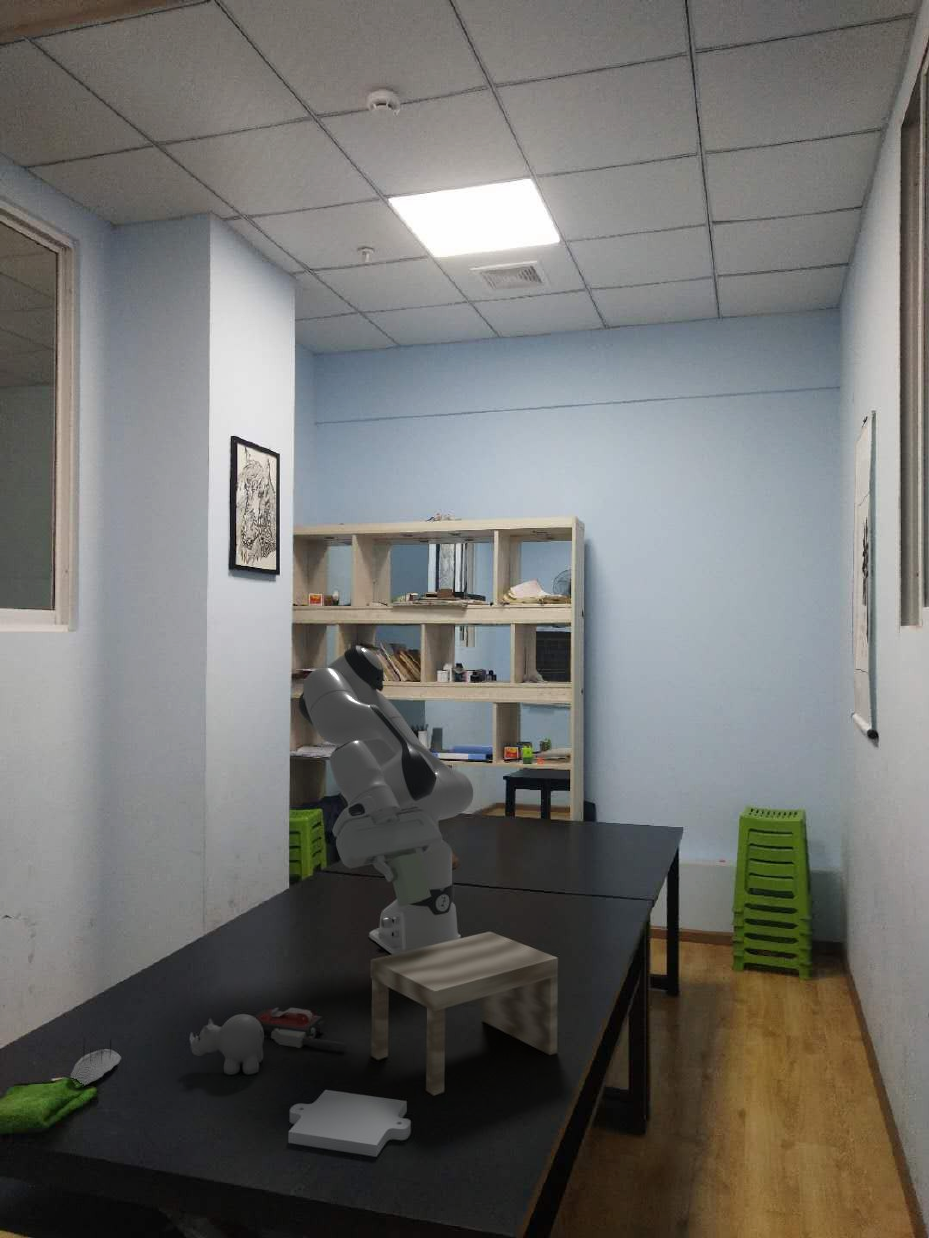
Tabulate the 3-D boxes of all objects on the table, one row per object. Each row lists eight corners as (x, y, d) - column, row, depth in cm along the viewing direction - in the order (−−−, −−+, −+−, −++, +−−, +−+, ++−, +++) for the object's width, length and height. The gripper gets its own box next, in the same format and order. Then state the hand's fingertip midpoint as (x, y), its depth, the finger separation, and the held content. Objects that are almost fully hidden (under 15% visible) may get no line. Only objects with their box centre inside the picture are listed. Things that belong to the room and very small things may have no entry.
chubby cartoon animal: (196, 1057, 162) (197, 1005, 163) (268, 1059, 162) (269, 1007, 162) (182, 1077, 155) (183, 1023, 155) (258, 1079, 155) (258, 1024, 155)
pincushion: (95, 1093, 150) (96, 1056, 150) (58, 1090, 151) (58, 1053, 151) (131, 1059, 162) (131, 1025, 162) (96, 1057, 163) (97, 1022, 163)
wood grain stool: (369, 1055, 164) (370, 959, 164) (489, 1018, 180) (489, 931, 180) (433, 1096, 150) (434, 991, 150) (556, 1052, 166) (557, 957, 166)
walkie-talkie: (236, 1041, 170) (343, 1056, 164) (237, 1015, 170) (343, 1030, 164) (260, 1022, 178) (363, 1036, 173) (261, 998, 178) (363, 1011, 173)
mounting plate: (422, 1116, 144) (423, 1103, 144) (394, 1162, 132) (394, 1147, 132) (309, 1100, 149) (310, 1087, 149) (271, 1142, 136) (271, 1128, 136)
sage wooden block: (399, 906, 174) (387, 862, 177) (419, 901, 177) (408, 857, 179) (410, 901, 171) (398, 856, 174) (431, 896, 174) (419, 852, 176)
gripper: (416, 815, 191) (447, 875, 184) (324, 832, 179) (352, 897, 171) (429, 795, 188) (460, 856, 180) (335, 811, 176) (365, 876, 168)
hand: (407, 876), depth 176 cm, fingers closed on sage wooden block, 4 cm apart
